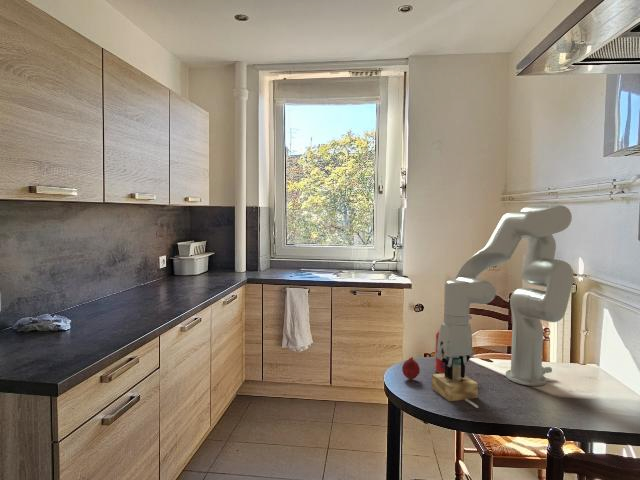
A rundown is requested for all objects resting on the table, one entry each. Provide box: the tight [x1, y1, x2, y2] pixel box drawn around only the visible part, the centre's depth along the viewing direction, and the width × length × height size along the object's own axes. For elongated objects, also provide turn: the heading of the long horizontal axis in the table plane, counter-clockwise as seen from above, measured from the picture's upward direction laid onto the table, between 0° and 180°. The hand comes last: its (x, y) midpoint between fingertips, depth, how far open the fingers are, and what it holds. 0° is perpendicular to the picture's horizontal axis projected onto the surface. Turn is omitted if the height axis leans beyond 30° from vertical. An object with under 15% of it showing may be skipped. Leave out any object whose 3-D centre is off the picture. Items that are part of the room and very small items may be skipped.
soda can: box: [434, 328, 445, 374], centre depth 149 cm, size 8×8×15 cm
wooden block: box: [430, 373, 479, 402], centre depth 131 cm, size 10×10×4 cm
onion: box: [401, 356, 421, 381], centre depth 141 cm, size 6×6×8 cm
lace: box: [464, 398, 479, 409], centre depth 123 cm, size 5×1×1 cm, turn 17°
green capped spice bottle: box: [447, 357, 461, 383], centre depth 131 cm, size 3×3×11 cm
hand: (454, 376), depth 131 cm, fingers open, 3 cm apart
